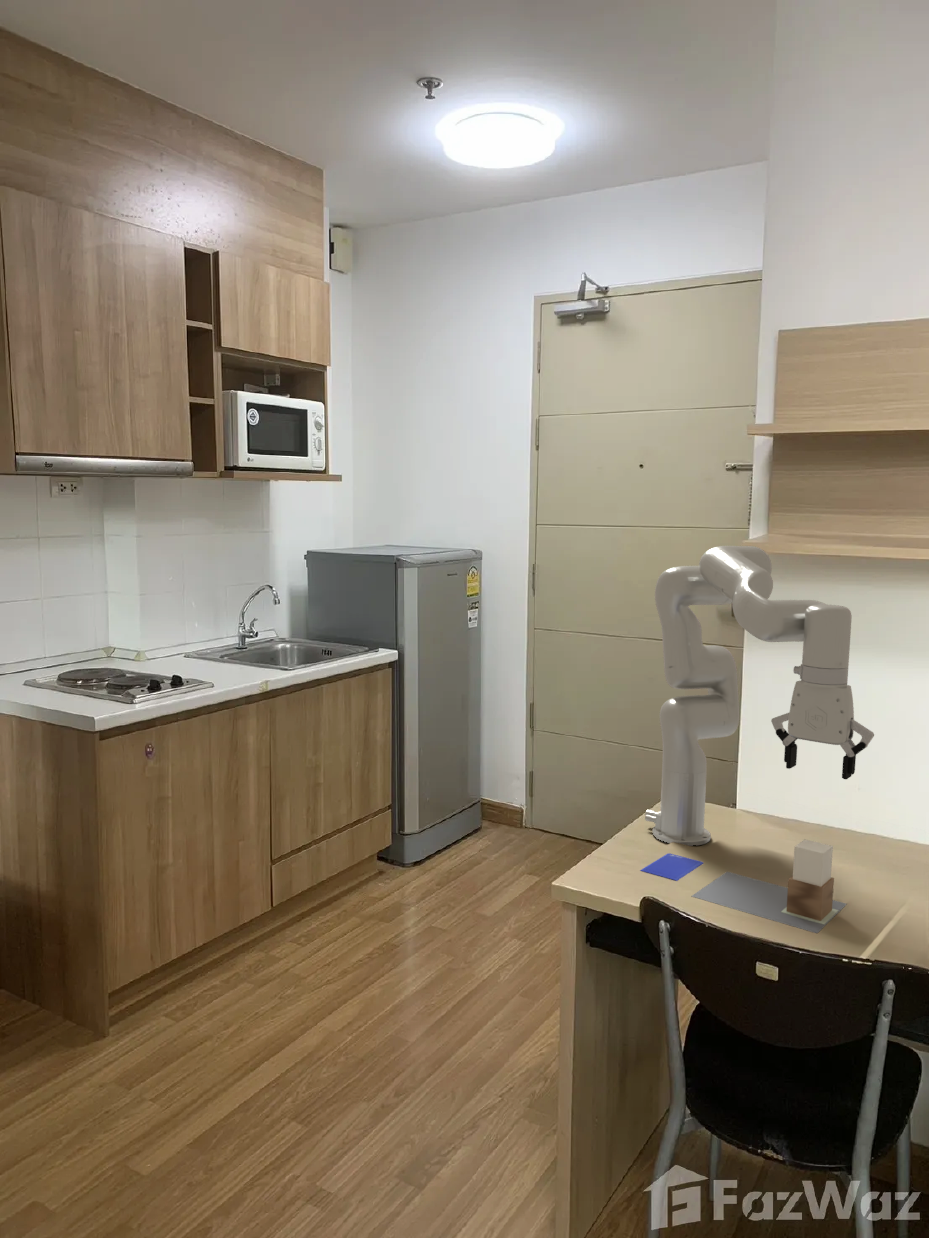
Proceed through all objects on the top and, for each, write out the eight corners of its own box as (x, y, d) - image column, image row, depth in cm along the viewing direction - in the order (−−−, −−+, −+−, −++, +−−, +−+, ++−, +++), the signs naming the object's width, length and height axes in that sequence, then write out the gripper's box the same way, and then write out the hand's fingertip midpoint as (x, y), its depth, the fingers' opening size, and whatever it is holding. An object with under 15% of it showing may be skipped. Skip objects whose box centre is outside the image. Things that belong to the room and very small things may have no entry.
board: (691, 900, 171) (691, 895, 171) (726, 875, 183) (727, 870, 183) (816, 937, 156) (817, 932, 156) (846, 907, 168) (847, 903, 168)
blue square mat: (667, 852, 192) (639, 869, 183) (704, 862, 187) (677, 880, 178) (667, 859, 192) (638, 877, 183) (704, 869, 187) (676, 888, 178)
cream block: (792, 879, 164) (794, 846, 163) (802, 871, 168) (804, 839, 167) (821, 886, 161) (823, 853, 160) (830, 878, 164) (832, 845, 164)
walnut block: (786, 911, 164) (788, 878, 164) (798, 900, 169) (800, 869, 168) (820, 921, 161) (822, 887, 160) (831, 910, 165) (834, 877, 165)
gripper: (767, 672, 163) (762, 767, 165) (870, 685, 152) (863, 786, 154) (783, 667, 168) (777, 759, 170) (883, 679, 158) (876, 777, 159)
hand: (818, 772), depth 162 cm, fingers open, 9 cm apart
